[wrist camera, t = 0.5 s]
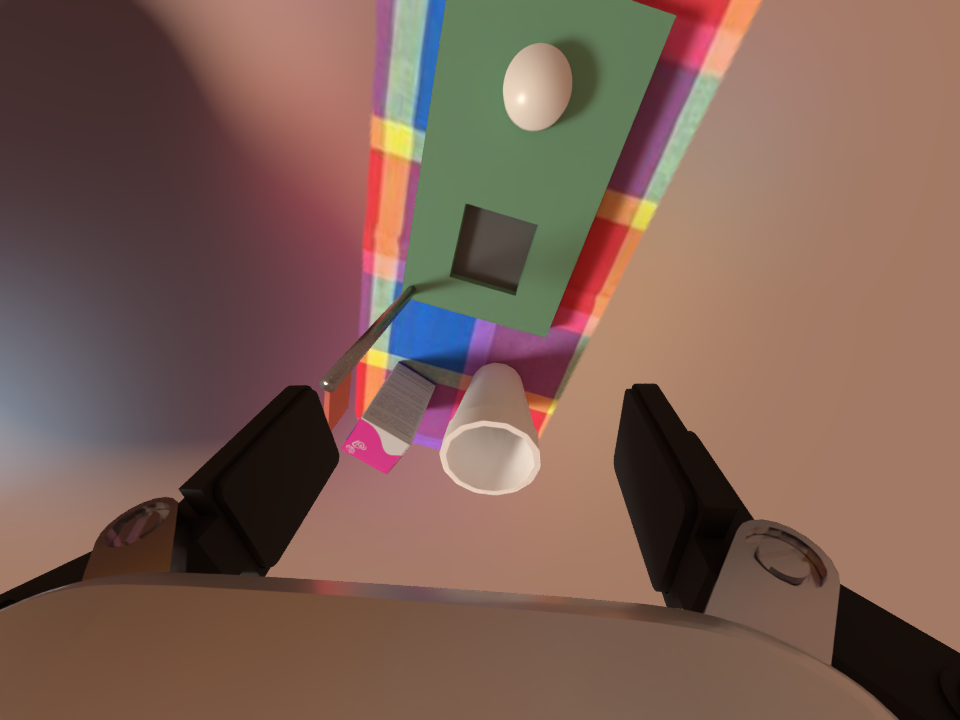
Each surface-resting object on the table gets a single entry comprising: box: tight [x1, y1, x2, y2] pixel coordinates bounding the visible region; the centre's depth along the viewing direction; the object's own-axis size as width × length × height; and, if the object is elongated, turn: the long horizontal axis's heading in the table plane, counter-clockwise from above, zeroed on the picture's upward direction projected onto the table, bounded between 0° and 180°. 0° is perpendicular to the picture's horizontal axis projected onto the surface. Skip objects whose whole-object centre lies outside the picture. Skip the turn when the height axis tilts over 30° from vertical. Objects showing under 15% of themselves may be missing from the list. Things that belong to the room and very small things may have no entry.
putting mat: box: [319, 0, 676, 431], centre depth 24 cm, size 29×16×20 cm, turn 165°
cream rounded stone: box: [503, 43, 572, 132], centre depth 26 cm, size 5×5×2 cm
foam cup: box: [440, 363, 540, 495], centre depth 37 cm, size 10×9×13 cm
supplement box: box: [341, 361, 437, 474], centre depth 39 cm, size 6×6×12 cm
